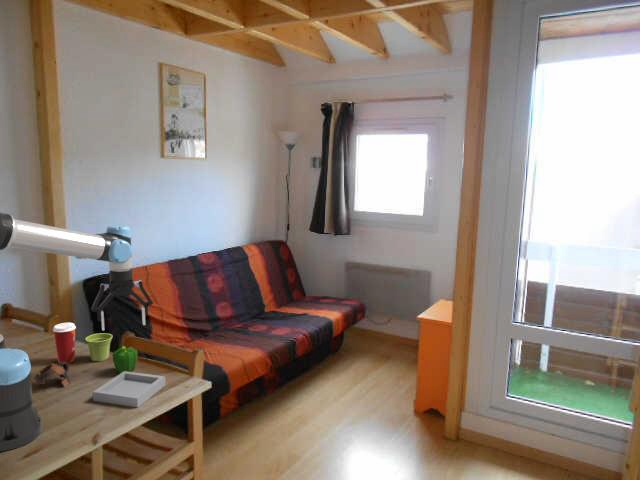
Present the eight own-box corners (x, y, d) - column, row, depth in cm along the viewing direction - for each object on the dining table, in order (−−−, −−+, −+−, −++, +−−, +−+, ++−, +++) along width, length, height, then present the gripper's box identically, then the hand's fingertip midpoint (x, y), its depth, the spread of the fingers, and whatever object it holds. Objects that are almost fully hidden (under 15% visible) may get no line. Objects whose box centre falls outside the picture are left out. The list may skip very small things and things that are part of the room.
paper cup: (82, 359, 182) (79, 324, 180) (62, 366, 175) (59, 330, 173) (70, 354, 186) (68, 320, 184) (50, 361, 180) (48, 326, 177)
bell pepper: (122, 365, 178) (121, 339, 176) (142, 367, 176) (141, 341, 174) (108, 374, 169) (106, 348, 168) (128, 377, 168) (127, 350, 166)
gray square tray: (137, 407, 147) (137, 398, 147) (93, 400, 151) (92, 391, 150) (165, 384, 162) (165, 376, 162) (124, 379, 166) (124, 371, 166)
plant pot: (108, 352, 190) (107, 331, 188) (117, 359, 183) (116, 337, 182) (83, 358, 183) (82, 336, 182) (92, 365, 176) (90, 343, 175)
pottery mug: (62, 392, 156) (46, 374, 154) (41, 401, 159) (25, 384, 156) (81, 369, 167) (67, 351, 165) (61, 378, 170) (46, 360, 167)
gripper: (156, 264, 176) (158, 318, 179) (81, 269, 165) (85, 328, 168) (159, 268, 169) (161, 325, 173) (81, 274, 158) (85, 335, 161)
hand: (123, 326), depth 170 cm, fingers open, 13 cm apart
